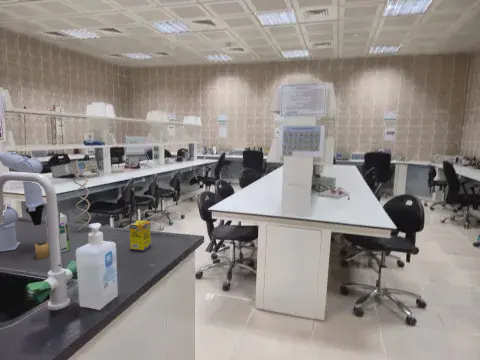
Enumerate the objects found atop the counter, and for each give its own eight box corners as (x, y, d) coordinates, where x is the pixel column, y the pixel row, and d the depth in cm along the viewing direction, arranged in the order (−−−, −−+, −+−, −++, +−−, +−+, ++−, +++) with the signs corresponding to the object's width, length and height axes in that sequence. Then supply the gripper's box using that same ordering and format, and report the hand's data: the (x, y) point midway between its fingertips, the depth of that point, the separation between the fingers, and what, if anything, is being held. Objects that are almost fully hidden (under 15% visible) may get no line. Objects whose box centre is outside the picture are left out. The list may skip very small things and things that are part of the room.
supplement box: (144, 252, 123) (142, 225, 121) (130, 250, 124) (128, 224, 122) (151, 246, 129) (150, 221, 127) (138, 245, 130) (136, 219, 128)
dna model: (75, 233, 143) (69, 168, 138) (78, 229, 149) (73, 166, 144) (91, 232, 145) (86, 168, 139) (93, 228, 151) (89, 166, 146)
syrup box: (55, 254, 120) (51, 218, 117) (48, 251, 123) (44, 215, 121) (70, 250, 124) (67, 215, 122) (63, 246, 128) (60, 212, 125)
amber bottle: (35, 259, 116) (33, 244, 114) (37, 255, 119) (35, 240, 118) (48, 257, 117) (47, 242, 116) (50, 253, 121) (49, 238, 120)
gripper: (42, 193, 115) (46, 228, 118) (47, 186, 128) (51, 218, 131) (19, 195, 113) (24, 231, 115) (27, 188, 126) (31, 220, 128)
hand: (37, 224), depth 123 cm, fingers closed
